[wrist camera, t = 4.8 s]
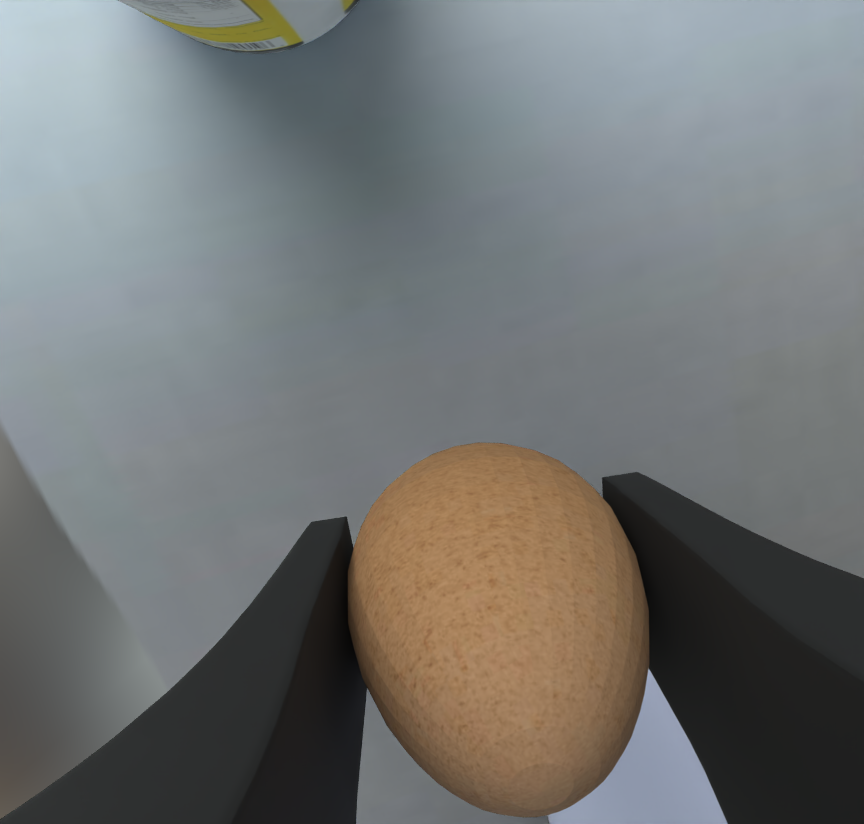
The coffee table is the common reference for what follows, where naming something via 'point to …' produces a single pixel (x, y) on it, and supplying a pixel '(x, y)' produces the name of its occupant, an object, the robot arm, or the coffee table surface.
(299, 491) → the coffee table surface
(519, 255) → the coffee table surface
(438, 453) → the egg
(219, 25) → the pill bottle
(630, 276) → the coffee table surface
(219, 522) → the coffee table surface
